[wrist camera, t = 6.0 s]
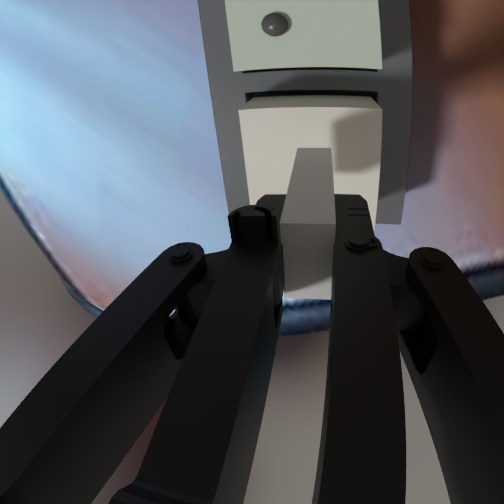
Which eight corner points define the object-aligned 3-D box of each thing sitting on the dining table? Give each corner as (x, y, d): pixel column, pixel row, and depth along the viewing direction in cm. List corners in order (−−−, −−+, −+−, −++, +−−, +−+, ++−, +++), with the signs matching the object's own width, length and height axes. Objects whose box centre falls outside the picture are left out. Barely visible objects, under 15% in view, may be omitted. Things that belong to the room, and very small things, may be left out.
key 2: (250, 66, 17) (232, 71, 14) (237, -37, 13) (216, -55, 9) (369, 64, 15) (382, 69, 12) (359, -42, 11) (369, -63, 8)
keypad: (242, 195, 26) (229, 220, 23) (201, -121, 10) (181, -140, 7) (390, 198, 24) (400, 224, 21) (366, -131, 7) (372, -154, 4)
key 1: (264, 198, 22) (252, 231, 19) (253, 97, 18) (237, 110, 15) (366, 200, 21) (374, 234, 17) (370, 96, 16) (383, 110, 13)
